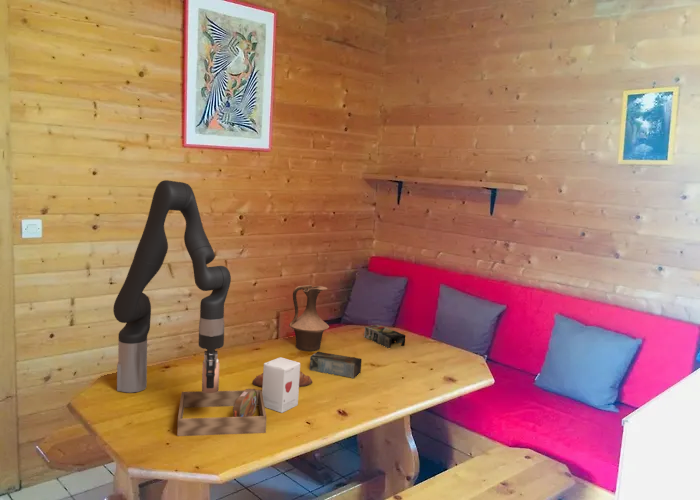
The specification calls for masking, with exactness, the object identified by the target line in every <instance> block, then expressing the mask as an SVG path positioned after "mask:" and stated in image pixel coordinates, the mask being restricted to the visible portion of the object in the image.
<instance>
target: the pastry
mask: <svg viewBox="0 0 700 500" xmlns="http://www.w3.org/2000/svg"><path fill="white" fill-rule="evenodd" d="M312 383H313V379H312V378H311V376H309V375H305V374H304V373H303V372H302V371H300V376H299V388H301V387H302V388H304V387H308V386H310V385H311V384H312ZM252 384H253V386H257V387H259V388H262V387H263V372H262V373H261V374H258V375H257V376H256V377H254V378H253V380H252Z"/></svg>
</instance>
